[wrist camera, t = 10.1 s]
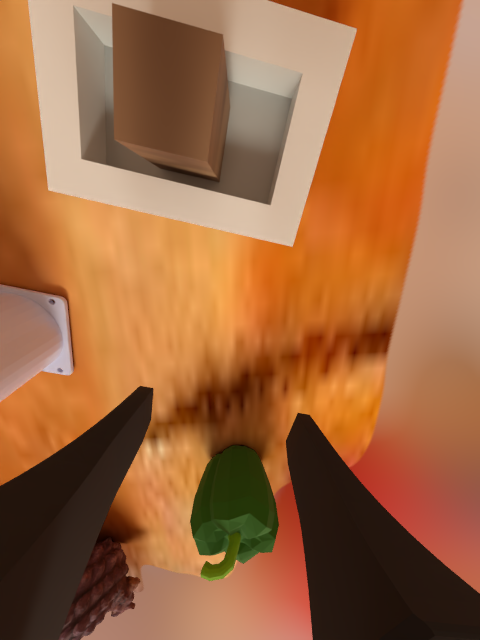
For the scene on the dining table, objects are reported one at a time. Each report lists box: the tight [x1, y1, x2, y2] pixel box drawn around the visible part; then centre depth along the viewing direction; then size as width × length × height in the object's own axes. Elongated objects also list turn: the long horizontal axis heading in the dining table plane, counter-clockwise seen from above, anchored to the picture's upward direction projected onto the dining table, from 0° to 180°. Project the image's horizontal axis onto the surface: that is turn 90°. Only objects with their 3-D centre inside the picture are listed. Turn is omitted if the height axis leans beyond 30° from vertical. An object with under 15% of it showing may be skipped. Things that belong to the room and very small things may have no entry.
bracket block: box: [112, 3, 230, 182], centre depth 12 cm, size 4×4×6 cm
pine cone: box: [58, 537, 140, 640], centre depth 30 cm, size 18×10×10 cm, turn 61°
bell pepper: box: [190, 445, 279, 581], centre depth 23 cm, size 8×8×10 cm
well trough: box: [28, 0, 357, 247], centre depth 13 cm, size 15×10×3 cm, turn 78°
